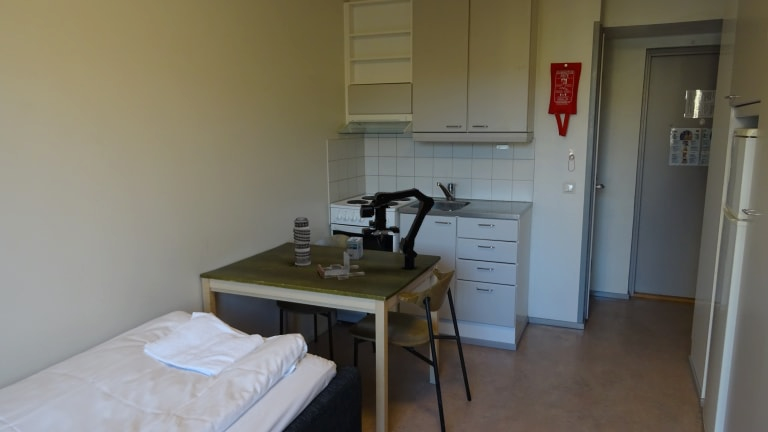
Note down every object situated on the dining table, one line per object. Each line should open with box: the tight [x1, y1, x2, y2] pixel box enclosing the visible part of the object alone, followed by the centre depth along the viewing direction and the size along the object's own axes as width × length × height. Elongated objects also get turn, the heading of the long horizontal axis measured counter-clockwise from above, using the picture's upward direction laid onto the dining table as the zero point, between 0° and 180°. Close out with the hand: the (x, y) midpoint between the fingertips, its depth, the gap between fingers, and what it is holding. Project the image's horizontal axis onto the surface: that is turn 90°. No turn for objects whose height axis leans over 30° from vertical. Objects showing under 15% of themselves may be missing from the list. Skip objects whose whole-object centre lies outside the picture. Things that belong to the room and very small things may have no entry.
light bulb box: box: [346, 236, 364, 260], centre depth 293 cm, size 11×7×11 cm, turn 168°
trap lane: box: [317, 263, 365, 281], centre depth 262 cm, size 21×23×4 cm
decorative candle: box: [292, 216, 312, 266], centre depth 279 cm, size 9×9×25 cm
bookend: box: [324, 251, 351, 276], centre depth 261 cm, size 12×10×10 cm
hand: (380, 247), depth 266 cm, fingers closed
